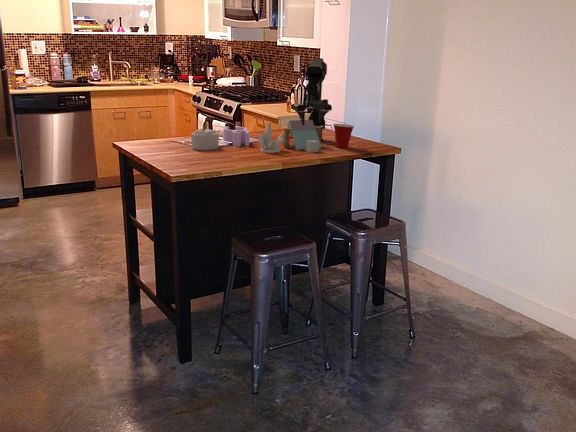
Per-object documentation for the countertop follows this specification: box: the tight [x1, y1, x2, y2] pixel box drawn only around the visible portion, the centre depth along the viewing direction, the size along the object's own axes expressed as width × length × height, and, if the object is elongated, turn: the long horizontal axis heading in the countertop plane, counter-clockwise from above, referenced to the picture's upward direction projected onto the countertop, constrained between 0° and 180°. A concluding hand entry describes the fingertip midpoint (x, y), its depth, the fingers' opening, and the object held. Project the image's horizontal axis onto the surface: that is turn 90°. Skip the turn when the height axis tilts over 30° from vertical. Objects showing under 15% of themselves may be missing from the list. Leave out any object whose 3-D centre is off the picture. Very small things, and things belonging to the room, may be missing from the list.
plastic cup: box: [333, 123, 355, 149], centre depth 284 cm, size 11×11×12 cm
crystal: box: [257, 119, 284, 154], centre depth 269 cm, size 10×13×15 cm
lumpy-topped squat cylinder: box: [190, 128, 220, 151], centre depth 270 cm, size 10×13×9 cm
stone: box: [304, 140, 320, 153], centre depth 274 cm, size 5×5×5 cm
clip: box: [222, 125, 250, 147], centre depth 286 cm, size 20×12×7 cm, turn 24°
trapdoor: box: [286, 119, 322, 150], centre depth 280 cm, size 16×14×4 cm
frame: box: [283, 127, 323, 149], centre depth 281 cm, size 2×20×10 cm, turn 116°
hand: (311, 125), depth 272 cm, fingers open, 9 cm apart
